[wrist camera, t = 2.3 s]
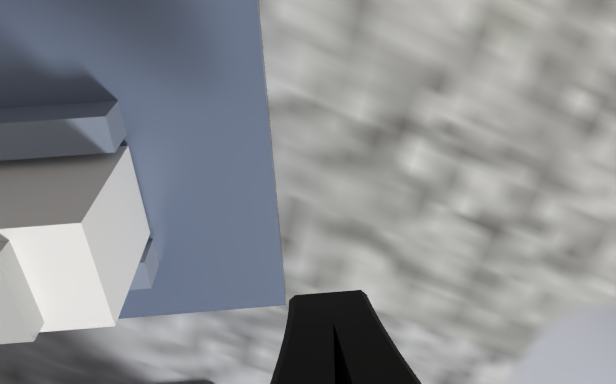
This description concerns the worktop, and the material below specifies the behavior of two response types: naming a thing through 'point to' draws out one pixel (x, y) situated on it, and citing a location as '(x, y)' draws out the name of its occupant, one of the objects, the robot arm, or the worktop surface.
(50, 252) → the tab
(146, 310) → the switch board
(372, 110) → the worktop surface
